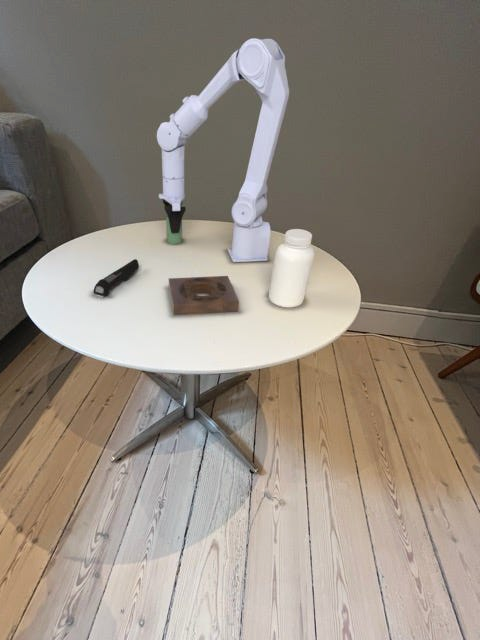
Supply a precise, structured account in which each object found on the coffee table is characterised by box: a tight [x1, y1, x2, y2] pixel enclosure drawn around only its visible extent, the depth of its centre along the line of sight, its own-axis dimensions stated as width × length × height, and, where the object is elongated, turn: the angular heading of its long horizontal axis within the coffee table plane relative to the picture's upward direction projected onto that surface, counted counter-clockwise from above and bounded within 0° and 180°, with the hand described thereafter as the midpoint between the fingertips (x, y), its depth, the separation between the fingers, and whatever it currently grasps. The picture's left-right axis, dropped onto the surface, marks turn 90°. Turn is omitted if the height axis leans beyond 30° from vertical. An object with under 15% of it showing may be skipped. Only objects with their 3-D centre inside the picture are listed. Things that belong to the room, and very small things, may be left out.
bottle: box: [165, 204, 183, 245], centre depth 109 cm, size 4×4×10 cm
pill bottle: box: [268, 228, 315, 308], centre depth 83 cm, size 8×8×15 cm
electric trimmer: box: [93, 258, 140, 298], centre depth 92 cm, size 4×16×3 cm, turn 153°
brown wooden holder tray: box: [168, 275, 240, 316], centre depth 86 cm, size 14×12×2 cm
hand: (174, 229), depth 110 cm, fingers closed on bottle, 4 cm apart
